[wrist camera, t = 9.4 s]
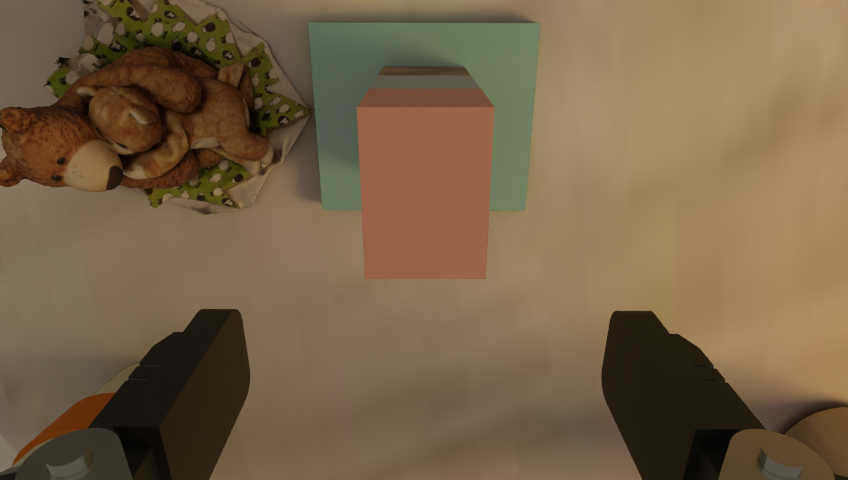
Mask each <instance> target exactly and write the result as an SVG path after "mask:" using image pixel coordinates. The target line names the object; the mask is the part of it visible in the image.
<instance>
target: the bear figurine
mask: <svg viewBox="0 0 848 480" xmlns="http://www.w3.org/2000/svg"><path fill="white" fill-rule="evenodd" d="M81 1H82V2H83V3H84V19H85V33H84V35H85V36H84V40H83V45H82V47H80V48H79V51H78V53H80V54H79V55H78V56H75V57H73V58H62V57H59V60H56V61H57V65H58V69H57V70H56V71H55V72H54V73H53V74H52V75H51V76H50V77H49V78H48V79H47V83H46V85H44V87H45V88H46V89H47V90H48V91H50V92H51V93H52V94H53V95H54V96H56V97H57V98H59V99H60V100H58V101H57V103H55V104H53V105H51V106H45V107H35V108H29V109H28V108H21V107H8V108H3V109H2V110H1V111H0V127H1V128H2V129H3V130H2V136H1V139H2V143H3V148H4V150H5V152H6V154H7V156H6V157H5V158H4V159H3V160H2V162H1V163H0V185H1V186H4V187H11V186H14V185H16V184H18V183H19V182H20V181H21V180H23V179H28V180H31V181H33V182H36V183H39V184H41V185H44V186H50V187H63V186H70V187H74V188H76V189H79V190H83V191H88V192H102V191H105V190H112V189H114V188H116V187H117V186H118V185H122V186H125V187H128V188H134V189H135V190H137V191H138V192H139V193H141V194H142V195H144V196H145V197H147V198H148V199H149V201H150V205H151V206H152V207H154V208H156V207H158V206H159V205H161V204H162V203H163V202H170V203H173V204H176V205H179V206H182V207H185V208H188V209H191V210H194V211H196V212H199V213H202V214H205V215H206V214H213V213H220V212H228V211H235V210H240V209H241V207H249V206H251V205H252V203H253V201H254V199H255V197H256V196H257V194H258V192H259V190H260V188H261V186H262V184H263V183H264V181H265V179H266V177H267V175H268V174H269V172H270V170H272V169H273V168H274V167H276V166H278V165H280V164H282V163H283V161H284V160H285V158H286V156H287V154H288V153H289V151H290V149H291V148H292V146H293V144H294V143H295V141H296V139H297V138H298V136H299V134H300V132H301V131H302V129H303V127H304V126H305V124H306V122H307V121H308V119H309V117H310V116H311V114H312V113H313V112H314V111H315V110H310V109H309V108H308V107H307V105H305V104H304V103H303V100H302V98H301V97H300V95H299V94H298V93H297V91H296V90H295V88H294V87H293V86H292V84H291V83H290V81H289V80H288V78H287V77H286V76H285V74H284V73H283V71H282V70H281V68H280V67H279V66H278V64H277V63H276V61H275V60H274V58H273V57H272V54H271V51H270V48H269V45H268V43H267V42H266V41H264V40H263V39H262V38H260V37H259V36H258V35H256V34H255V33H254V32H253V31H251V30H250V29H249V28H248V29H249V30H250V31H251V32H253V33H254V34H255V35H256V36H255V35H253V34H249V33H244V32H242V31H240V30H239V29H238V28H237V27H236V26H234V25H233V24H232V23H231V22H230V21H229V19H228V18H227V15H226V12H225V11H224V10H222V9H221V8H218V7H215V6H212V5H209V4H207V3H204V2H202V1H200V0H96V1H95V2H94V3H91V2H89V1H86V0H81ZM100 19H102V20H103V21H104V24H103V25H102V26H101V29H100V32H99V35H98V38H97V39H96V38H94V37H93V36H92V34H93V32H94V30H95V29H96V27H97V25H98V23H99V21H100ZM239 22H240V21H239ZM240 23H241V22H240ZM244 26H245V25H244ZM245 27H246V26H245ZM246 28H247V27H246ZM83 53H88V56H84V57H83V58H81V54H83ZM261 57H263V58H261ZM55 64H56V63H55ZM308 106H309V105H308Z"/></svg>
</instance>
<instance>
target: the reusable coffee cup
mask: <svg viewBox="0 0 848 480" xmlns="http://www.w3.org/2000/svg"><path fill="white" fill-rule="evenodd" d="M139 365H140V363H137V364H133V365H131V366H129V367H127V368H125V369H123V370H122V371H121V372H119V373H118V374H117V375H116V376H115V377H114V378H112V379H111V380H110V381H109V382H108V383H107V384H106V385H104V386H103V387H102V388H101V389H100V390H99V391H98V392H96V393H95V394H94V395H93V396H90V397H87V398H85V399H83V400H81V401H79V402H77V403H76V404H74V405H73V406H72V407H71V408H70V409H68V410H67V411H66V412H65V413H64V414H63V415H61V416H60V417H59V418H58V419H57V420H56V421H54V422H53V423H52V424H51V425H50V426H48V427H47V428H46V429H45V430H44V431H43V432H41V433H40V434H39V435H38V436H37V437H36V438H34V439H33V440H32V441H31V442H30V443H29V444H27V445H26V446H25V447H24V448H23V449H22V450H21V451H20V452H19V454H18V455H17V457H16V458H15V460H14V462H13V465H12V467H11V468H9V469H7V470H5V471H3V472H1V473H0V475H5V474H9V473H13V472H17V471H18V469H19V467H20V466H21V464H22V463H23V462H24V461H25V459H26V458H27V457H28V456H30V455H31V454H32V453H33V452H34V451H35V450H37V449H38V448H39V447H41V446H42V445H44V444H45V443H47V442H49V441H51V440H53V439H54V438H56V437H59V436H61V435H64V434H66V433H69V432H72V431H76V430H80V429H86V428H88V426H89V425H90V424H91V423H92V421H93V420H94V419H95V418H96V416H97V415H98V414H99V413H100V411H101V410H102V409H103V408H104V406H105V405H106V404H107V403H108V402H109V400H110V399H111V398H112V397H113V395H114V394H115V393H116V392H117V390H118V389H119V388H120V387H121V385H122V384H123V383H124V382H125V381H128V377H129V375H130V374H131V373H132V372H133V370H134V369H135V368H136V367H137V366H139Z"/></svg>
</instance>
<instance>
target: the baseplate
mask: <svg viewBox="0 0 848 480" xmlns="http://www.w3.org/2000/svg"><path fill="white" fill-rule="evenodd" d="M308 30H309V43H310V56H311V69H312V82H313V95H314V108H315V121H316V134H317V147H318V160H319V173H320V186H321V199H322V210H362V205H361V184H360V164H359V144H358V124H357V106H358V105H359V103H360V102H361V100H362V99H363V97H364V96H365V94H366V93H367V91H368V90H369V86H370V85H371V84H372V82H373V81H374V79H375V78H376V77H377V75H378V74H379V72H380V71H381V70H382V68H383V67H384V66H464V67H465V68H466V69H467V71H468V72H469V74H470V75H471V76H472V78H473V79H474V81H475V82H476V83H477V85H478V86H479V87H480V88H481V89H482V91H483V92H484V93H485V95H486V96H487V97H488V99H489V100H490V102H491V103H492V104H493V106H494V107H495V108H494V127H493V147H492V166H491V186H490V205H489V210H510V211H525V204H526V192H527V179H528V167H529V155H530V143H531V131H532V119H533V107H534V95H535V83H536V70H537V58H538V46H539V34H540V23H430V22H309V23H308Z"/></svg>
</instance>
